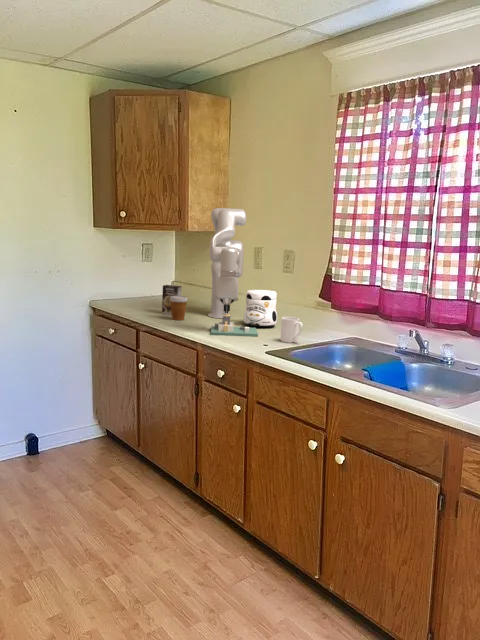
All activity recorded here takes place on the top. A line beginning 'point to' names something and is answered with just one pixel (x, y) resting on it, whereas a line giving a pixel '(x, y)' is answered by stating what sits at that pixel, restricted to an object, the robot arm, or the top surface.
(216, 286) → the robot arm
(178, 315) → the disposable coffee cup
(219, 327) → the board
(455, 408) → the top surface
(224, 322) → the plug
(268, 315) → the milk container
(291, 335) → the mug
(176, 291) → the coffee box
